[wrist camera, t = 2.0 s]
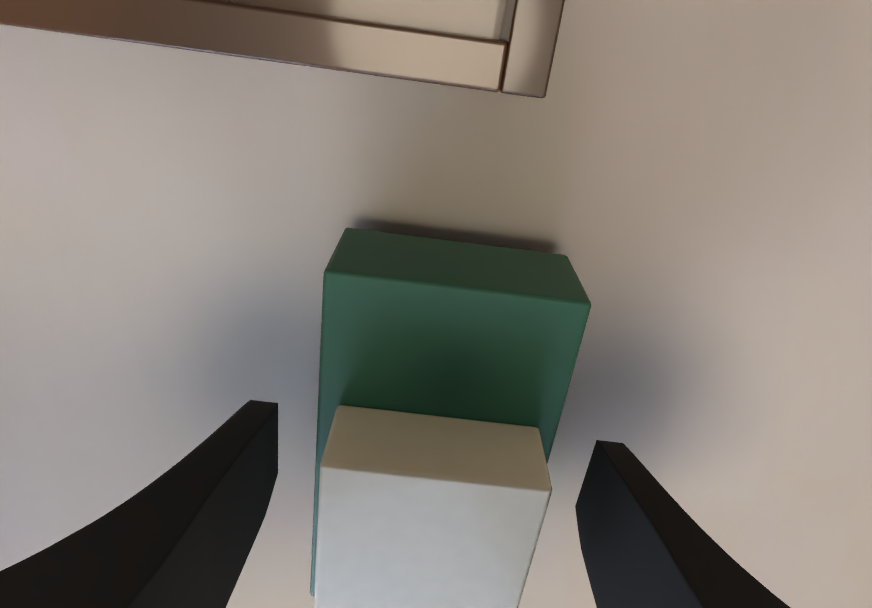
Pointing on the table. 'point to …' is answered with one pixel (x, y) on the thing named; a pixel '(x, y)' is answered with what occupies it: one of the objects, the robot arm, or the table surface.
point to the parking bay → (334, 34)
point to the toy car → (437, 418)
